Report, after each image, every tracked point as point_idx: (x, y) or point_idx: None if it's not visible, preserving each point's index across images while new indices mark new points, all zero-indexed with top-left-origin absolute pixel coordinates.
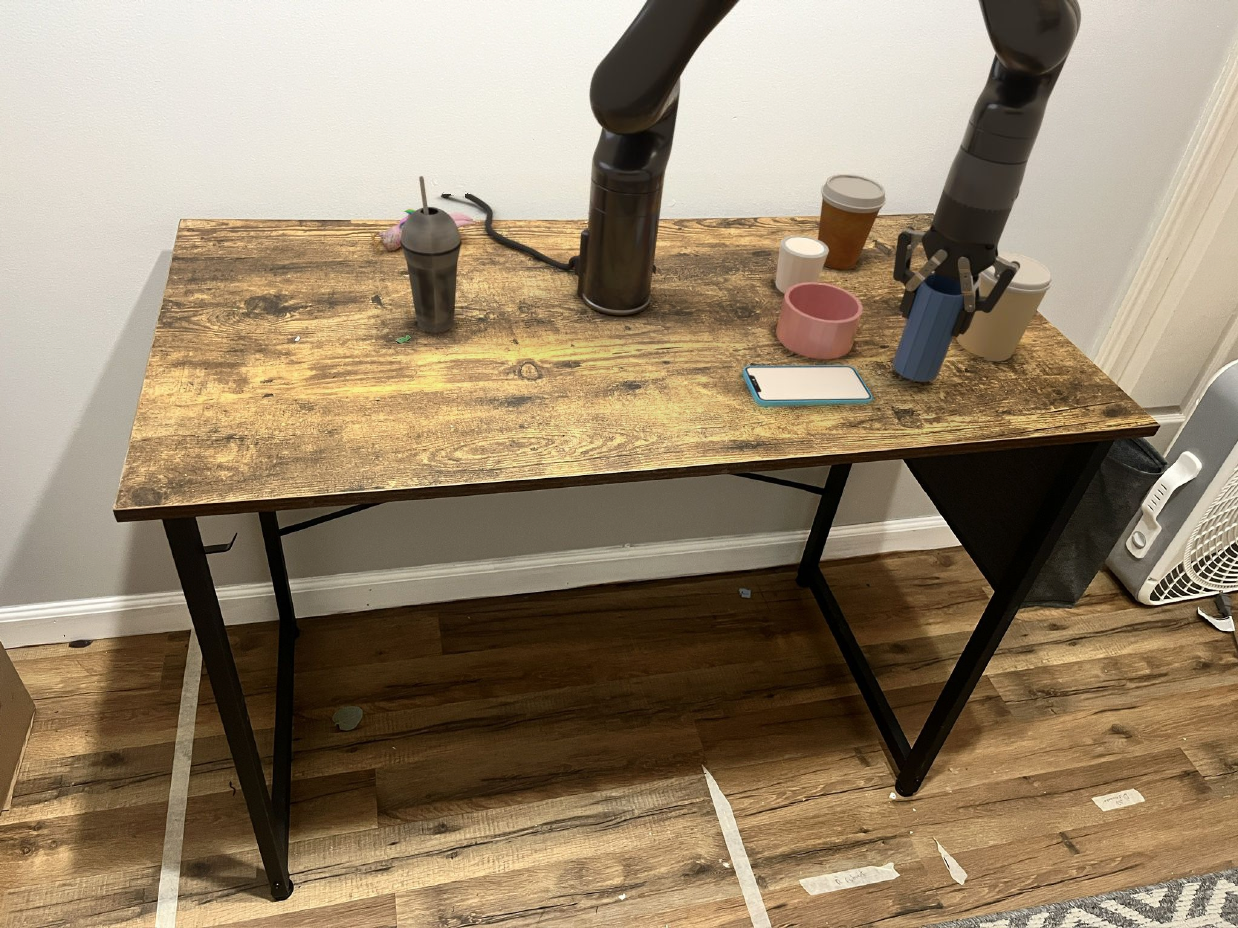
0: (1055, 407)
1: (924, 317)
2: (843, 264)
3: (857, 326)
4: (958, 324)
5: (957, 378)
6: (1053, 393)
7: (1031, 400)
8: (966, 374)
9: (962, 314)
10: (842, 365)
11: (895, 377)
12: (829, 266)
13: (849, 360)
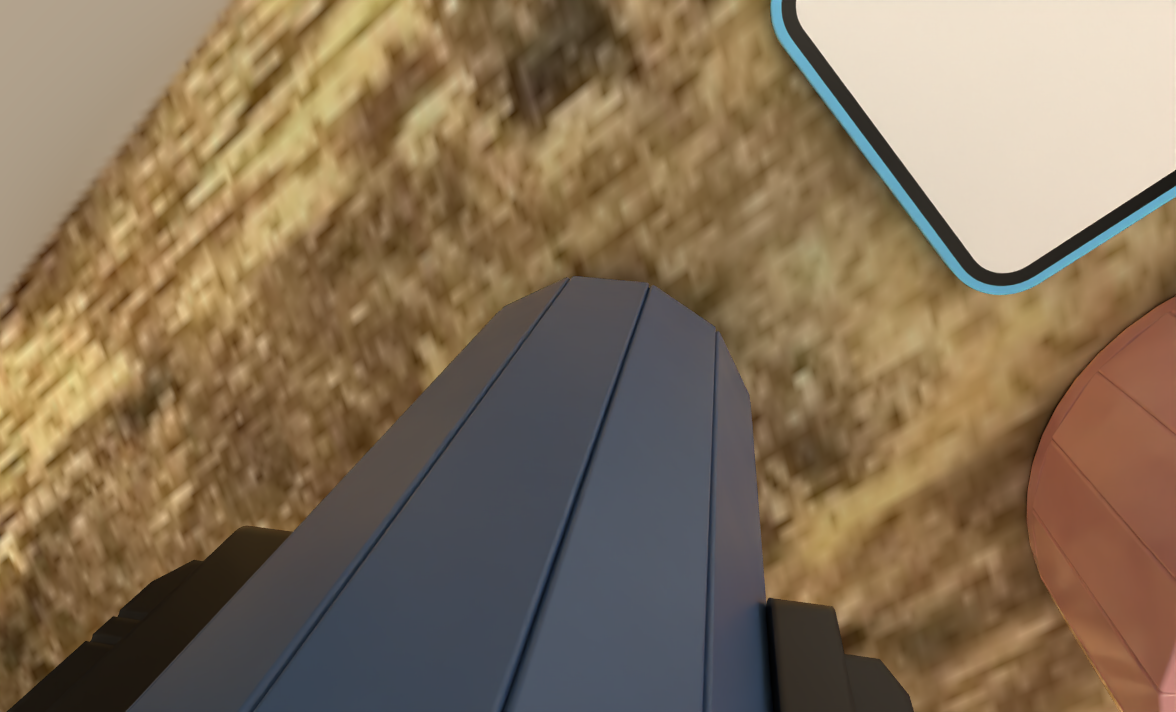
0: (8, 568)
1: (549, 522)
2: None
3: (1114, 595)
4: (190, 605)
5: None
6: (57, 664)
7: (100, 566)
8: None
9: (92, 701)
10: (1058, 270)
11: None
12: None
13: (1009, 410)
